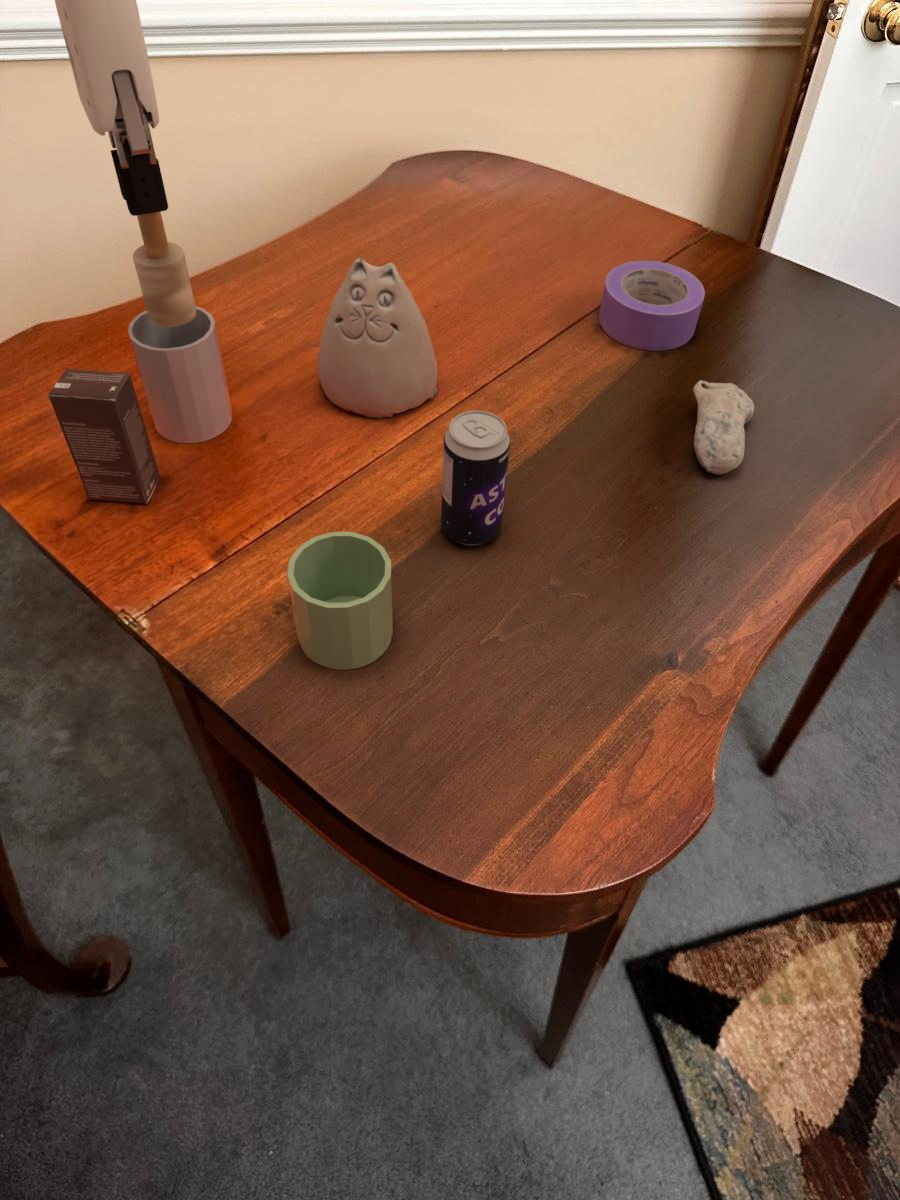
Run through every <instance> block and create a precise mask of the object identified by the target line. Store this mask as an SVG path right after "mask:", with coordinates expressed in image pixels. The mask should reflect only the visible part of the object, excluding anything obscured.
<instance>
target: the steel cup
mask: <svg viewBox="0 0 900 1200" xmlns="http://www.w3.org/2000/svg"><path fill="white" fill-rule="evenodd" d="M195 307H196V316H195V318H194V319H193V320H192V321H190V322H189V323H187V324H184V325H181V326H177V327H161V326H157V325H155V324H153V323H152V322H151V321H150V320H149V318H148V314H147V310H146V309H145V310H144V311H142V312H140V313H139V314H137V315H136V316H135V317H134V318H133V319H132V320H131V321H130V322H129V325H128V329H127V333H128V337H129V341H130V345H131V348H132V351H133V355H134V359H135V362H136V366H137V369H138V373H139V377H140V380H141V384H142V387H143V391H144V394H145V397H146V401H147V405H148V408H149V412H150V416H151V419H152V422H153V424H154V429H155V430H156V431H157V433H158V434H159V435H160V436H161V437H163V438H164V439H166V440H167V441H170V442H174V443H179V444H197V443H204V442H206V441H210V440H212V439H214V438H216V437H218V436H220V435H222V434H223V433H224V432H225V431H226V430H227V429H228V428H229V427H230V426H231V423H232V422H233V421H232V420H233V409H232V407H233V406H232V403H231V397H230V393H229V388H228V383H227V382H228V381H227V377H226V371H225V367H224V362H223V356H222V352H221V347H220V341H219V336H218V330H217V325H216V320H215V319H214V317H213V314H211V313H210V312H209V311H207V310H206V309H204V308H203V307H200V306H198V305H195Z"/></svg>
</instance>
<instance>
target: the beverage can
mask: <svg viewBox="0 0 900 1200" xmlns="http://www.w3.org/2000/svg"><path fill="white" fill-rule="evenodd" d="M508 433H509V432H508V427H507V424H506V423H505V422H504V420H503V419H502V418H501V417H500V416H499V415H496V414H494V413H491V412H489V411H485V410H467V411H464V412H461V413H459V414H457V415H456V416H454V417H453V418H452V419H451V420H450V423H449V425H448V428H447V430H446V431H445V434H444V436H443V448H442V449H443V450H442V451H443V452H442V476H441V477H442V478H441V480H442V481H441V505H440V506H441V507H440V526H441V529H442V531H443V532H444V534H445V535H446V536H447V537H448V538H449V539H451V540H453V541H454V542H457V543H458V544H461V545H465V546H479V545H482V544H484V543H488V542H490V541H492V540H493V539H494V538H496V537H497V536H498V535H499V533H500V531H501V529H502V522H503V515H504V514H503V513H504V505H505V496H506V488H507V487H506V486H507V478H508V468H509V459H510V450H511V437H510V435H509V434H508Z"/></svg>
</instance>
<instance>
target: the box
mask: <svg viewBox="0 0 900 1200" xmlns="http://www.w3.org/2000/svg"><path fill="white" fill-rule="evenodd" d="M47 396H48V399H49V402H50V403H51V406H52V409H53V411H54V413H55V416H56V418H57V421H58V424H59V427H60V429H61V432H62V434H63V437H64V439H65V442H66V445H67V447H68V449H69V453H70V455H71V458H72V460H73V462H74V465H75V468H76V471H77V473H78V475H79V478H80V481H81V484H82V487H83V489H84V492H85V495H86V496H87V499H88V500H97V501H109V502H121V503H123V502H124V503H134V504H145V505H148V503H149V501H151V498H152V496H153V494H154V492H155V489H156V487H157V485H158V483H159V480H160V478H161V474H160V472H159V468H158V465H157V461H156V458H155V457H156V456H155V454H154V451H153V448H152V443H151V441H150V440H151V439H150V437H149V433H148V431H147V427H146V424H145V420H144V416H143V414H142V411H141V407H140V404H139V400H138V396H137V394H136V390H135V386H134V383H133V381H132V376H131V373H130V372H115V371H99V370H87V369H73V368H66V369H65V370H64V371H63V373H62V374H61V376H60V377H59V378H58V379H57V381H56V383H55V384H54V386H53V387H52V389H50V391H49V392H48V394H47Z"/></svg>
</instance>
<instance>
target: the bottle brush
mask: <svg viewBox="0 0 900 1200" xmlns="http://www.w3.org/2000/svg"><path fill="white" fill-rule="evenodd" d="M127 138H128V137H127V135H123V136H122V140H123V141H124V139H127ZM123 144H124V143H123ZM136 218H137V221H138V226H139V230H140V234H141V239H142V242H143V245H141V246H139V247H138V248H136V249H135V250H134V252H133V253H132V261H133V264H134V268H135V271H136V275H137V279H138V282H139V286H140V291H141V294H142V299H143V302H144V306H145V311H146V310H147V314H148V318H149V320H150V321H151V322H152V323H153V324H155V325H157V326H161V327H177V326H181V325H184V324H187V323H189V322H190V321H192V320H193V319H194V318H195V316H196V307H195V306H196V302H195V297H194V295H193V294H194V293H193V287H192V284H191V283H192V282H191V278H190V275H189V269H188V265H187V260H186V256H185V251H184V249H183V247H182V246H180V245H179V244H177V243H174V242H170V241H168V238H167V235H166V234H167V233H166V229H165V225H164V221H163V216H162V211H161V212H155V213H149V214H143V215H137V216H136Z"/></svg>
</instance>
